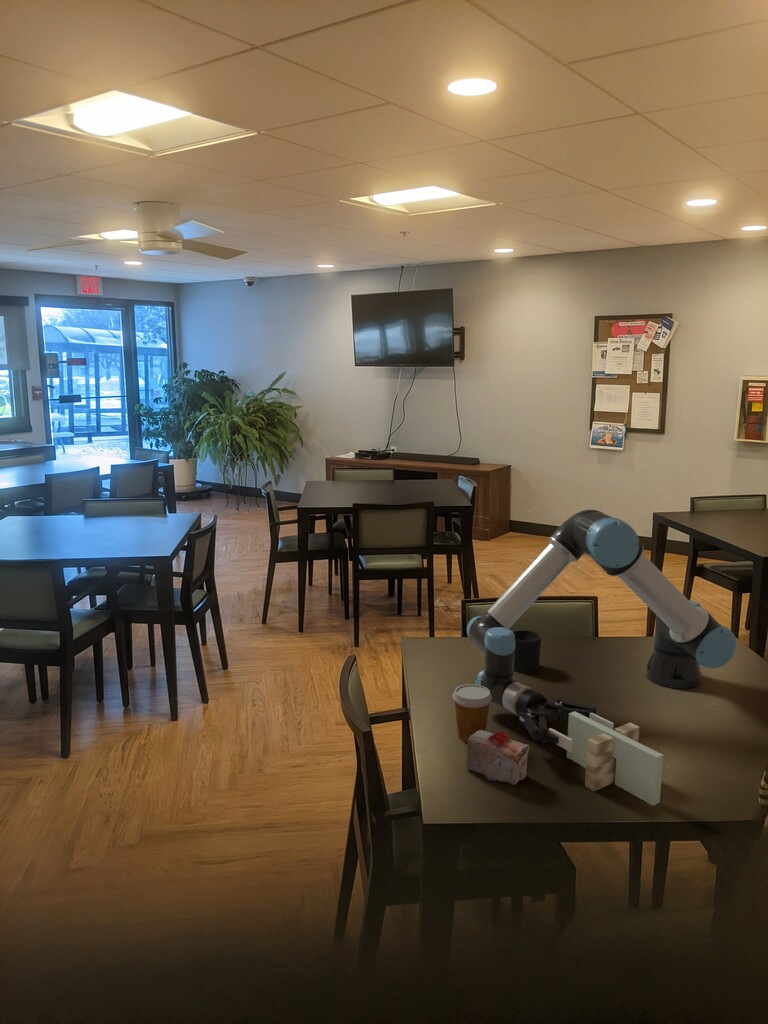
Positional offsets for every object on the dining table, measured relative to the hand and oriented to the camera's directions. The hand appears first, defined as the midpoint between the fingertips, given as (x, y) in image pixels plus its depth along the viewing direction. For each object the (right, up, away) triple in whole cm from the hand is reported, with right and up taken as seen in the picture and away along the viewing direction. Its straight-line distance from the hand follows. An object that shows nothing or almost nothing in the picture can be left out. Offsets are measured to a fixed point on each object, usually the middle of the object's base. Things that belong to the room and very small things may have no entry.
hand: (592, 737), depth 175 cm
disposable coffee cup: (-25, -5, +16) cm, 30 cm away
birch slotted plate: (+3, -8, -3) cm, 9 cm away
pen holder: (-5, +4, +58) cm, 58 cm away
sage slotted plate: (+3, -8, -3) cm, 9 cm away
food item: (-22, -8, -1) cm, 23 cm away
